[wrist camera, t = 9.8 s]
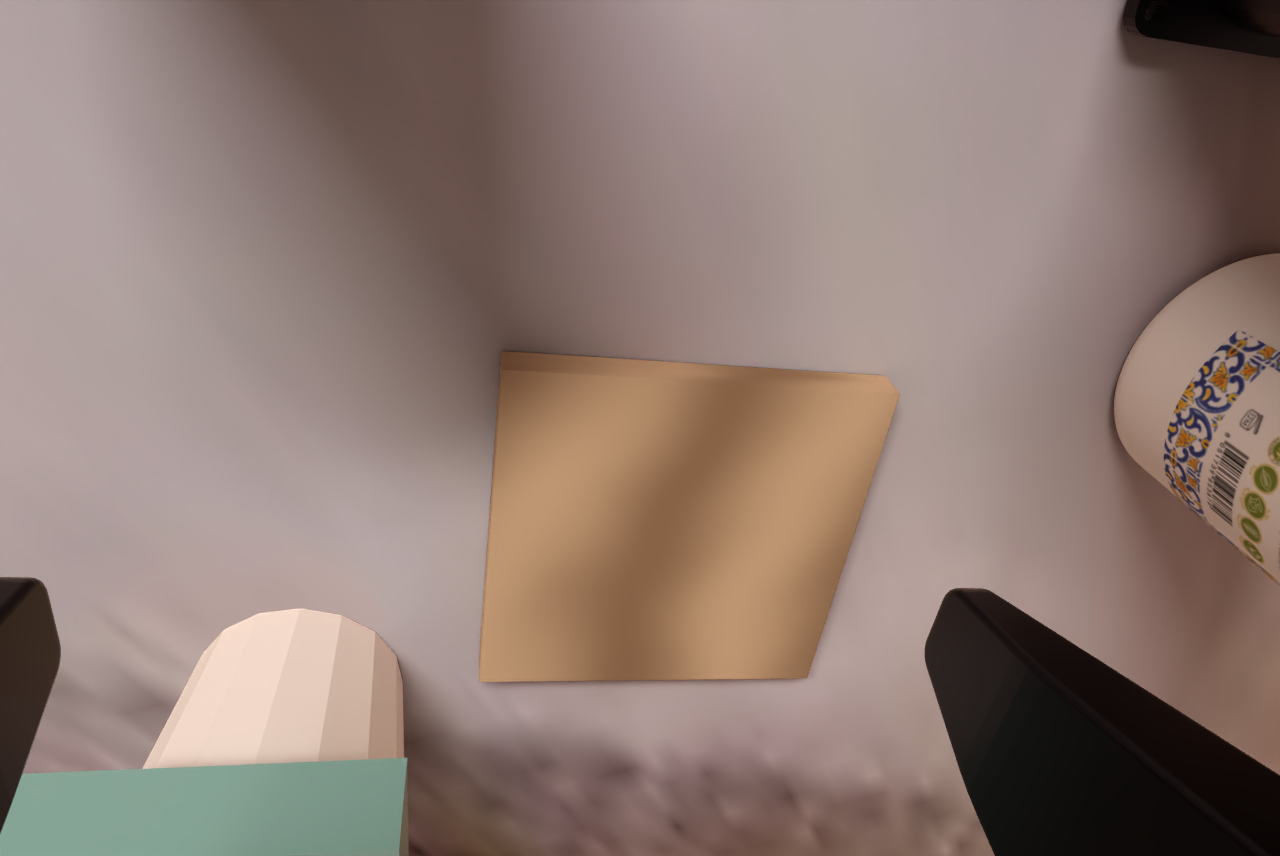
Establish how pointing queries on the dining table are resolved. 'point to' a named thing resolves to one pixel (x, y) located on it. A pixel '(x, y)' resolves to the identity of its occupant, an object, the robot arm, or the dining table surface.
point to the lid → (214, 811)
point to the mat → (670, 516)
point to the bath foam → (1213, 404)
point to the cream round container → (287, 696)
